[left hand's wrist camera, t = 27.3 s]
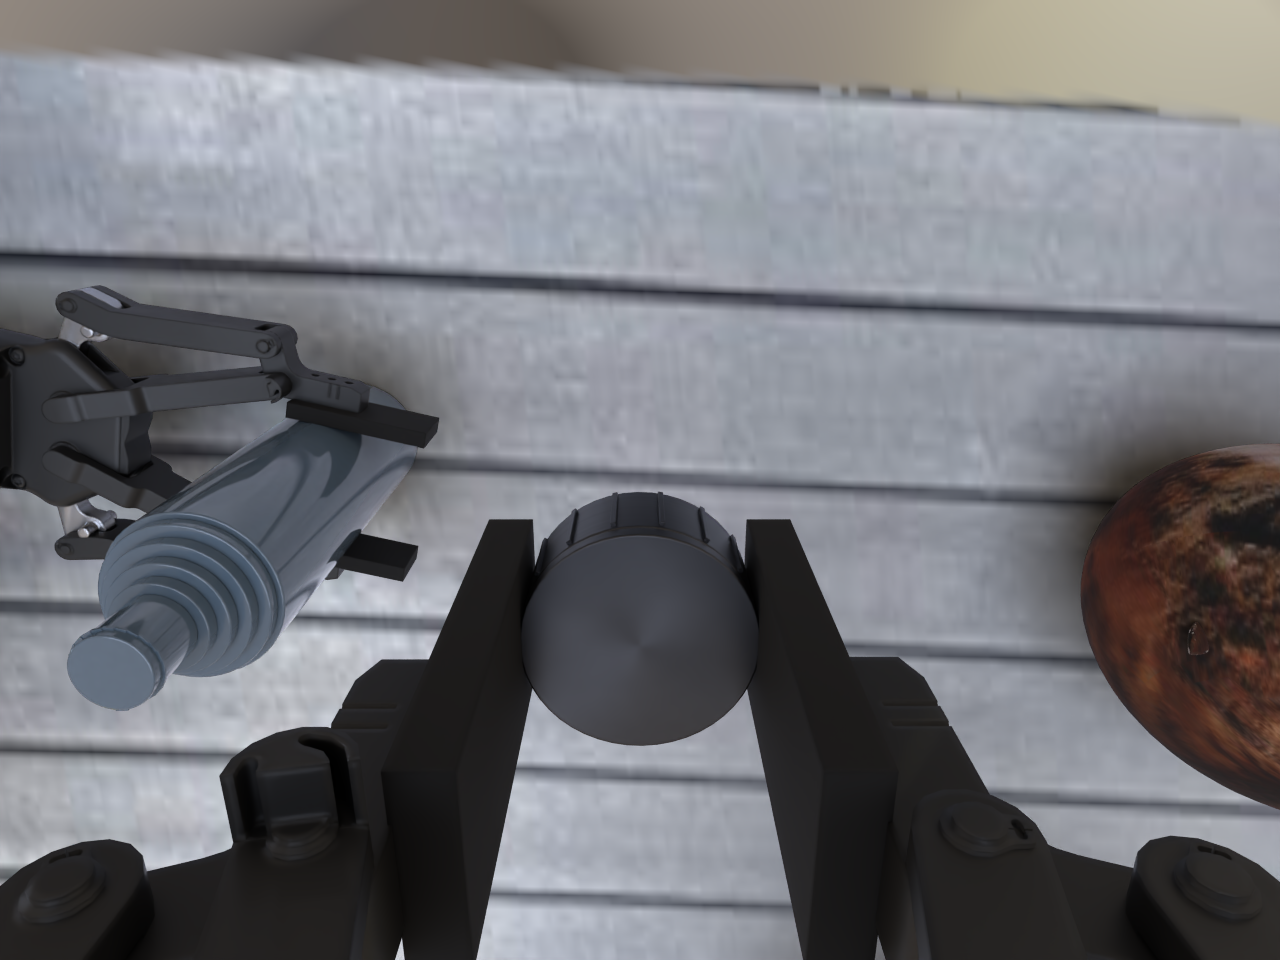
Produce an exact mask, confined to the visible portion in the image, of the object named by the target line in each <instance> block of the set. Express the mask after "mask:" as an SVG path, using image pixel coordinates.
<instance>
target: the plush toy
mask: <svg viewBox="0 0 1280 960" xmlns="http://www.w3.org/2000/svg"><path fill="white" fill-rule="evenodd" d="M1081 606H1082V614H1083V621H1084V625H1085V629H1086V633H1087V636H1088V640H1089V643H1090V646H1091V648H1092V651H1093V653H1094V655H1095V658H1096V660H1097V662H1098V665H1099V667H1100V669H1101V671H1102V672H1103V674H1104V676H1105V678H1106V679H1107V681H1108V683H1109V684H1110V686H1111V688H1112V689H1113V691H1114V692H1115V694H1116V695H1117V696H1118V698H1119V699H1120V700H1121V702H1122V703H1123V704H1124V706H1125V707H1126V708H1127V709H1128V711H1129V712H1130V713H1131V714H1132V715H1133V716H1134V717H1135V718H1136V719H1137V721H1138V722H1139V723H1140V724H1141V725H1142V726H1143V727H1144V728H1145V729H1146V730H1147V731H1148V732H1149V733H1150V734H1151V735H1152V736H1153V737H1154V738H1155V739H1157V740H1158V741H1159V742H1160V743H1161V744H1162V745H1164V746H1165V747H1166V748H1167V749H1168V750H1169V751H1170V752H1172V753H1173V754H1174V755H1176V756H1177V757H1178V758H1180V759H1181V760H1182V761H1184V762H1185V763H1187V764H1188V765H1190V766H1191V767H1193V768H1194V769H1196V770H1197V771H1199V772H1200V773H1202V774H1204V775H1205V776H1207V777H1209V778H1210V779H1212V780H1214V781H1216V782H1217V783H1219V784H1221V785H1223V786H1225V787H1227V788H1229V789H1231V790H1233V791H1235V792H1237V793H1239V794H1241V795H1243V796H1246V797H1248V798H1250V799H1253V800H1255V801H1258V802H1260V803H1263V804H1266V805H1268V806H1271V807H1274V808H1276V809H1279V810H1280V444H1251V445H1241V446H1233V447H1227V448H1221V449H1216V450H1212V451H1208V452H1204V453H1200V454H1197V455H1194V456H1191V457H1188V458H1185V459H1182V460H1179V461H1177V462H1175V463H1172V464H1170V465H1168V466H1166V467H1164V468H1162V469H1160V470H1159V471H1157V472H1155V473H1153V474H1151V475H1150V476H1148V477H1146V478H1145V479H1143V480H1142V481H1140V482H1139V483H1138V484H1136V485H1135V486H1134V487H1133V488H1131V489H1130V490H1129V491H1128V492H1127V493H1126V494H1124V495H1123V496H1122V497H1121V498H1120V499H1119V500H1118V501H1117V502H1116V503H1115V505H1114V506H1113V507H1112V508H1111V510H1110V511H1109V512H1108V513H1107V515H1106V516H1105V517H1104V518H1103V520H1102V522H1101V523H1100V525H1099V527H1098V529H1097V531H1096V532H1095V534H1094V536H1093V538H1092V540H1091V543H1090V546H1089V549H1088V551H1087V554H1086V557H1085V561H1084V566H1083V572H1082V579H1081Z"/></svg>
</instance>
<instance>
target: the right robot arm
mask: <svg viewBox="0 0 1280 960" xmlns="http://www.w3.org/2000/svg"><path fill="white" fill-rule="evenodd" d="M56 307H57V310H58V311H59V312H60V314H61V315H63V316H64V320H63V323H62V327H61V330H60V333H59V337H57V338H53V339H42V338H39V337H36V336H32V335H28V334H24V333H19V332H15V331H10V330H6V329H1V328H0V488H8V489H20V490H26V491H29V492H31V493H33V494H35V495H37V496H38V497H40V498H41V499H42V500H44V501H45V502H47V503H49V504H51V505H54V506H57V507H58V510H59V514H60V517H61V521H62V525H63V528H64V532H65V536H63V537H61V538H60V539H58V540H57V541H56V543H55V550H56V552H57V554H58V555H59V556H60V557H62V558H64V559H67V560H91V559H105V556H106V553H107V551H108V549H109V547H110V545H111V544H112V542H113V541H114V540H115V538H116V537H117V536H118V535H119V534H120V533H121V532H122V531H123V530H124V529H125V528H127V527H128V526H129V525H131V524H132V523H134V522H135V520H129V519H117V515H116V513H115V512H114V511H112V510H108V511H104V510H100V509H97V508H95V507H94V506H92V505H91V503H90V502H89V500H88V499H89V498H91V497H94V496H96V495H100V496H102V497H104V498H106V499H108V500H110V501H112V502H114V503H115V504H117V505H119V506H122V507H125V508H138V509H140V510H142V511H144V512H146V513H148V512H150V511H151V510H153V509H154V508H155V507H157V506H158V505H160V504H161V503H163V502H164V501H166V500H167V499H169V498H170V497H172V496H173V495H174V494H176V493H177V492H179V491H180V490H182V489H183V488H185V487H186V486H188V485H189V484H191V483H192V482H190V481H188V480H186V479H184V478H183V477H181V476H179V475H177V474H175V473H174V472H173V471H172V469H171V466H170V465H169V464H167V463H166V462H164V461H162V460H160V459H158V458H156V457H155V456H153V455H151V445H150V440H149V436H148V429H149V426H150V423H151V421H152V416H153V411H163V410H174V409H184V408H194V407H205V406H215V405H225V404H236V403H246V402H256V401H267V400H272V401H271V403H275V402H277V401H279V400H280V399H282V398H288V399H292V400H290V401H288V402H287V409H286V418H290V419H294V420H299V421H303V422H308V423H312V424H317V425H321V426H326V427H330V428H335V429H339V430H344V431H348V432H353V433H357V434H362V435H366V436H371V437H375V438H380V439H384V440H389V441H393V442H398V443H402V444H407V445H411V446H416V447H420V448H425V446H426V445H427V444H428V443H429V441H430V440H431V439H432V438H433V436H434V435H435V434H436V432H437V428H438V422H439V418H437V417H433V416H428V415H424V414H419V413H415V412H411V411H406V410H402V409H397V408H393V407H388V406H384V405H380V404H375V403H371V402H369V395H370V387H369V386H367V385H366V384H364V383H363V382H361V381H358V380H353V379H348V378H345V377H339V376H336V375H331V374H327V373H323V372H318V371H314V370H311V369H308V368H306V367H305V366H304V365H303V364H302V363H301V361H300V360H299V357H298V354H297V350H296V346H295V344H296V343H297V339H298V338H297V333H296V332H295V330H294V329H293V328H292V327H291V326H289V325H286V324H280V323H273V322H266V321H258V320H251V319H244V318H237V317H230V316H223V315H216V314H209V313H202V312H195V311H187V310H180V309H173V308H166V307H159V306H152V305H145V304H139V303H137V302H135V301H133V300H131V299H129V298H127V297H125V296H123V295H121V294H119V293H117V292H114V291H112V290H110V289H108V288H106V287H104V286H100V285H99V286H92V287H87V288H82V289H77V290H73V291H68V292H63V293H61V294H59V295H58V296H57V298H56ZM112 338H118V339H124V340H131V341H138V342H145V343H152V344H160V345H167V346H174V347H181V348H188V349H196V350H203V351H210V352H217V353H224V354H232V355H239V356H246V357H253V358H259V359H260V362H261V366H259V367H248V368H238V369H228V370H218V371H208V372H197V373H187V374H177V375H168V374H159V375H149V376H139V377H128V376H127V375H125V374H124V373H123V372H122V371H121V370H120V369H119V368H118V367H117V366H116V365H115V364H114V363H112V362H111V361H110V360H109V359H108V358H107V357H106V356H105V355H104V354H103V353H102V352H101V351H99V350H98V349H97V348H96V347H95V346H94V345H93V344H92V341H96V342H103V341H106V340H109V339H112ZM417 551H418V546H416V545H411V544H407V543H402V542H397V541H393V540H388V539H383V538H379V537H374V536H369V535H365V534H359V536H358V537H357V538H356V540H355V541H354V542H353V543H352V545H351V546H350V547H349V548H348V550H347V551H346V552H345V554H344V555H343V556H342V557H341V559H340V560H339V561H338V563H337V564H336V565H335V566H334V568H333V569H332V570H331V571H330V573H329V574H328V575H327V577H326V578H325V580H330V579H338V577H339V576H340V575H341V573H342V572H343V571H344V569H345V570H350V571H355V572H360V573H364V574H369V575H374V576H379V577H383V578H388V579H393V580H398V581H402V582H403V580H404V579H405V577H406V575H407V574H408V572H409V570H410V568H411V567H412V565H413V563H414V562H415V560H416V557H417Z"/></svg>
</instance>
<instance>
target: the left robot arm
mask: <svg viewBox="0 0 1280 960" xmlns="http://www.w3.org/2000/svg"><path fill="white" fill-rule="evenodd" d="M534 569H535V556H534V535H533V519H489V521H488V524H487V526H486V528H485V531H484V533H483V535H482V538H481V540H480V542H479V545H478V547H477V549H476V551H475V554H474V556H473V558H472V561H471V563H470V565H469V568H468V570H467V572H466V575H465V577H464V579H463V582H462V584H461V586H460V589H459V591H458V593H457V596H456V598H455V600H454V602H453V605H452V607H451V609H450V612H449V614H448V616H447V619H446V621H445V623H444V626H443V628H442V630H441V633H440V635H439V637H438V640H437V642H436V644H435V646H434V649H433V651H432V653H431V656H430V658H429V660H380V661H379V662H378V663H377V664H375V665H374V666H373V667H372V668H370V669H369V670H368V671H367V672H365V673H364V674H363V675H362V676H360V677H359V678H358V679H356V680H355V682H354V684H353V686H352V688H351V689H350V691H349V693H348V695H347V697H346V698H345V700H344V702H343V704H342V709H339V711H338V713H337V715H336V716H335V718H334V720H333V722H332V723H331V728H328V727H300V728H296V729H291V730H287V731H282V732H278V733H275V734H273V735H270V736H268V737H266V738H263V739H261V740H259V741H257V742H254V743H252V744H251V745H249V746H248V747H247V748H245V749H244V750H243V751H241V752H240V753H239V754H237V755H236V756H235V757H233V758H232V759H231V760H230V762H229V763H228V764H227V766H226V767H225V769H224V770H223V772H222V773H221V774H220V776H219V777H220V781H221V786H222V791H223V796H224V800H225V805H226V810H227V815H228V820H229V824H230V829H231V834H232V839H233V845H232V848H231V849H229V850H226V851H224V852H221V853H218V854H215V855H212V856H208V857H205V858H202V859H198V860H193V861H189V862H185V863H181V864H176V865H172V866H168V867H164V868H160V869H155V870H151V871H146V867H145V863H144V859H143V855H141V854H140V853H139V852H138V851H137V850H136V849H135V848H134V847H133V846H132V845H131V844H129V843H124V842H120V841H115V840H111V839H107V840H97V841H87V842H81V843H78V844H75V845H72V846H68V847H65V848H62V849H59V850H56V851H53V852H51V853H49V854H47V855H45V856H43V857H42V858H40V859H38V860H36V861H34V862H32V863H30V864H29V865H27V866H25V867H23V868H22V869H20V870H19V871H18V872H17V873H16V874H14V875H13V876H12V877H11V878H9V879H8V880H7V881H6V882H5V883H3V884H2V885H1V886H0V960H395V958H396V955H397V951H398V948H399V945H400V942H401V939H402V942H403V949H404V957H405V960H476V958H477V953H478V949H479V944H480V939H481V934H482V929H483V924H484V920H485V915H486V910H487V905H488V900H489V895H490V891H491V886H492V881H493V876H494V871H495V866H496V862H497V857H498V852H499V847H500V842H501V837H502V833H503V828H504V823H505V818H506V813H507V808H508V804H509V799H510V794H511V789H512V784H513V779H514V775H515V770H516V765H517V760H518V755H519V750H520V746H521V741H522V736H523V731H524V726H525V721H526V717H527V712H528V707H529V702H530V697H531V693H532V687H531V685H530V683H529V680H528V678H527V676H526V674H525V671H524V668H523V663H522V647H521V617H522V614H523V610H524V606H525V602H526V599H527V595H528V591H529V587H530V584H531V580H532V576H533V572H534ZM745 569H746V572H747V576H748V580H749V584H750V587H751V591H752V595H753V599H754V602H755V606H756V610H757V614H758V618H759V636H758V654H757V668H756V671H755V673H754V676H753V678H752V680H751V683H750V684H749V686H748V688H747V690H748V695H749V700H750V705H751V710H752V714H753V719H754V724H755V729H756V734H757V739H758V743H759V748H760V753H761V758H762V763H763V768H764V772H765V777H766V782H767V787H768V792H769V797H770V801H771V806H772V811H773V816H774V821H775V826H776V830H777V835H778V840H779V845H780V850H781V855H782V859H783V864H784V869H785V874H786V879H787V884H788V888H789V893H790V898H791V903H792V908H793V913H794V917H795V922H796V927H797V932H798V937H799V942H800V946H801V951H802V956H803V960H875V953H876V945H877V937H878V936H879V940H880V943H881V946H882V949H883V952H884V956H885V959H886V960H1280V882H1279V881H1278V880H1277V879H1275V878H1274V877H1273V876H1272V875H1271V874H1269V873H1268V872H1267V871H1266V870H1265V869H1263V868H1262V867H1261V866H1260V865H1258V864H1257V863H1255V862H1253V861H1251V860H1249V859H1247V858H1246V857H1244V856H1242V855H1240V854H1238V853H1236V852H1234V851H1233V850H1231V849H1229V848H1226V847H1223V846H1220V845H1217V844H1214V843H1210V842H1207V841H1204V840H1201V839H1198V838H1188V837H1178V836H1167V837H1163V838H1158V839H1154V840H1150V841H1149V842H1147V843H1146V844H1145V845H1144V846H1143V847H1142V848H1141V849H1140V850H1139V851H1138V853H1137V857H1136V860H1135V864H1134V868H1130V867H1126V866H1122V865H1118V864H1113V863H1109V862H1105V861H1101V860H1096V859H1092V858H1088V857H1084V856H1079V855H1076V854H1073V853H1069V852H1066V851H1063V850H1060V849H1057V848H1054V847H1052V846H1050V845H1048V844H1047V841H1046V840H1045V838H1044V837H1043V835H1042V833H1041V832H1040V830H1039V828H1038V827H1037V825H1036V824H1035V823H1034V822H1033V821H1032V820H1031V819H1030V818H1028V817H1027V816H1026V815H1025V814H1024V813H1022V812H1021V811H1020V810H1019V809H1018V808H1016V807H1015V806H1013V805H1011V804H1009V803H1007V802H1005V801H1003V800H1001V799H999V798H996V797H994V796H992V795H990V794H989V792H988V790H987V789H986V787H985V785H984V783H983V782H982V780H981V778H980V776H979V774H978V773H977V771H976V769H975V767H974V766H973V764H972V762H971V760H970V758H969V757H968V755H967V753H966V751H965V750H964V748H963V746H962V744H961V742H960V741H959V739H958V737H957V735H956V733H955V732H954V730H953V728H952V726H949V721H948V719H947V717H946V716H945V714H944V712H943V710H942V709H941V707H940V706H938V704H937V700H936V698H935V696H934V694H933V693H932V691H931V689H930V687H929V685H928V684H927V682H926V680H925V678H924V677H923V676H922V675H920V674H919V673H918V672H916V671H915V670H914V669H913V668H911V667H910V666H909V665H908V664H906V663H905V662H904V661H902V660H901V659H900V658H899V657H849V655H848V652H847V650H846V648H845V646H844V643H843V641H842V639H841V636H840V634H839V632H838V629H837V627H836V625H835V622H834V620H833V618H832V615H831V613H830V611H829V608H828V606H827V604H826V601H825V599H824V597H823V595H822V592H821V590H820V588H819V585H818V583H817V581H816V578H815V576H814V574H813V571H812V569H811V567H810V564H809V562H808V560H807V557H806V555H805V553H804V550H803V548H802V546H801V544H800V541H799V539H798V537H797V534H796V532H795V530H794V527H793V525H792V523H791V520H790V519H747V523H746V544H745Z"/></svg>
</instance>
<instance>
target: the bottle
mask: <svg viewBox="0 0 1280 960" xmlns="http://www.w3.org/2000/svg"><path fill="white" fill-rule="evenodd" d="M367 386H369V387H370V395H369V402H371V403H375V404H380V405H384V406H388V407H393V408H397V409H402V410H405V408H404V407H403V406H402V405H401V404H400V403H399V402H398V401H397V400H396V399H395V398H394V397H392V396H391V395H390V394H388V393H386V392H385V391H383V390H381V389H379V388H376V387H373V386H370V385H367ZM416 453H417V447H416V446H411V445H407V444H402V443H398V442H393V441H389V440H384V439H380V438H375V437H371V436H366V435H362V434H357V433H353V432H348V431H344V430H339V429H335V428H330V427H326V426H321V425H317V424H312V423H308V422H303V421H299V420H294V419H290V418H285V419H284V420H283V421H281V422H280V423H278V424H277V425H275V426H274V427H272V428H271V429H269V430H268V431H266V432H265V433H264V434H262V435H261V436H259V437H258V438H256V439H255V440H253V441H252V442H250V443H249V444H247V445H246V446H245V447H243V448H242V449H240V450H239V451H237V452H236V453H234V454H233V455H231V456H230V457H229V458H227V459H226V460H224V461H223V462H221V463H220V464H218V465H217V466H215V467H214V468H212V469H211V470H210V471H208V472H207V473H205V474H204V475H202V476H201V477H199V478H198V479H196V480H195V481H193V482H192V483H191V484H189V485H188V486H186V487H185V488H183V489H182V490H180V491H179V492H177V493H176V494H174V495H173V496H172V497H170V498H169V499H167V500H166V501H164V502H163V503H161V504H160V505H158V506H157V507H155V508H154V509H153V510H151V511H150V512H148V513H147V514H145V515H144V516H142V517H141V518H139V519H138V520H137V521H135V522H134V523H132V524H131V525H129V526H128V527H127V528H125V529H124V530H123V531H122V532H121V533H120V534H119V535H118V536H117V537H116V538H115V540H114V541H113V542H112V544H111V545H110V547H109V549H108V551H107V553H106V556H105V559H104V562H103V564H102V567H101V570H100V574H99V580H98V595H99V601H100V605H101V608H102V612H103V615H104V618H105V621H103V622H102V623H101V624H100V625H99V626H97V627H96V628H95V629H92V630H90V631H88V632H87V633H85V634H83V635H82V636H81V637H79V639H78V640H77V641H76V642H75V643H74V644H73V646H72V648H71V651H70V654H69V657H68V662H67V669H68V674H69V677H70V680H71V682H72V683H73V685H74V686H75V688H76V689H77V690H78V691H79V692H80V693H81V694H82V695H83V696H84V697H85V698H86V699H88V700H89V701H91V702H93V703H95V704H97V705H99V706H102V707H104V708H108V709H114V710H116V711H127V710H129V709H131V708H134V707H137V706H139V705H141V704H143V703H144V702H145V701H146V700H148V699H149V698H151V697H153V696H155V695H156V694H157V693H158V692H159V691H160V690H161V689H162V688H163V686H164V684H165V682H166V680H167V678H168V677H169V676H170V675H171V674H177V675H183V676H190V677H211V676H217V675H222V674H225V673H228V672H232V671H234V670H236V669H239V668H242V667H244V666H247V665H249V664H251V663H253V662H254V661H256V660H257V659H259V658H260V657H262V656H263V655H264V654H265V653H266V652H267V651H268V650H269V649H270V648H271V647H272V645H273V644H274V643H275V642H276V640H277V639H278V638H279V637H280V635H281V634H282V633H283V632H284V630H285V629H286V628H287V626H288V625H289V624H290V623H291V621H292V620H293V619H294V617H295V616H296V615H297V614H298V612H299V611H300V610H301V609H302V607H303V606H304V605H305V603H306V602H307V601H308V600H309V598H310V597H311V596H312V594H313V593H314V592H315V591H316V589H317V588H318V587H319V586H320V584H321V583H322V582H323V580H324V579H325V578H326V577H327V575H328V574H329V573H330V571H331V570H332V569H333V568H334V566H335V565H336V564H337V563H338V561H339V560H340V559H341V557H342V556H343V555H344V554H345V552H346V551H347V550H348V548H349V547H350V546H351V545H352V543H353V542H354V541H355V540H356V538H357V537H358V536H359V534H360V533H361V532H362V531H363V529H364V528H365V527H366V526H367V524H368V523H369V522H370V520H371V519H372V518H373V517H374V515H375V514H376V513H377V511H378V510H379V509H380V508H381V506H382V505H383V504H384V503H385V501H386V500H387V499H388V497H389V496H390V495H391V494H392V492H393V491H394V490H395V488H396V487H397V486H398V485H399V483H400V482H401V481H402V480H403V478H404V477H405V476H406V474H407V473H408V472H409V470H410V469H411V467H412V465H413V463H414V460H415V457H416Z"/></svg>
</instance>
